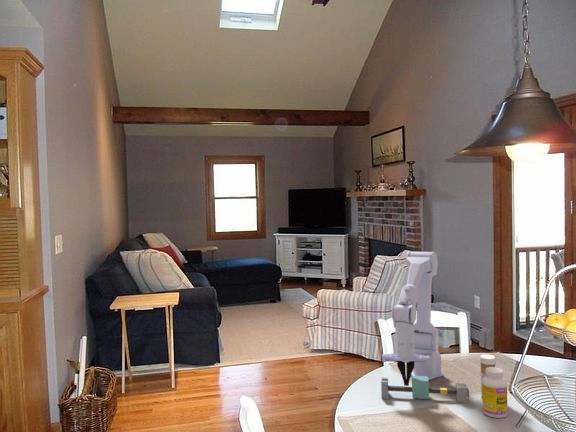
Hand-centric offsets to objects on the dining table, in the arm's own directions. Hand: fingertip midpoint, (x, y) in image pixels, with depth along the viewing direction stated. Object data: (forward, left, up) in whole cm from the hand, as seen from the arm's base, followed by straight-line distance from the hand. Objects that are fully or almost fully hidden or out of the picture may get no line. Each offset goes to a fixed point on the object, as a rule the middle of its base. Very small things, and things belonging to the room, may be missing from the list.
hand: (406, 384), depth 150 cm
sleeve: (-3, +3, -4) cm, 6 cm away
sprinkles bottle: (-19, +16, -4) cm, 25 cm away
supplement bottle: (-12, +23, -4) cm, 26 cm away
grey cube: (-12, +12, -4) cm, 17 cm away
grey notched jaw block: (+5, -5, -4) cm, 8 cm away
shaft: (-4, +4, -2) cm, 6 cm away
